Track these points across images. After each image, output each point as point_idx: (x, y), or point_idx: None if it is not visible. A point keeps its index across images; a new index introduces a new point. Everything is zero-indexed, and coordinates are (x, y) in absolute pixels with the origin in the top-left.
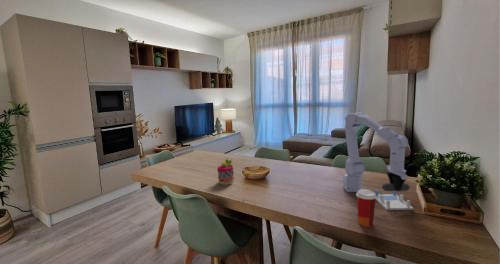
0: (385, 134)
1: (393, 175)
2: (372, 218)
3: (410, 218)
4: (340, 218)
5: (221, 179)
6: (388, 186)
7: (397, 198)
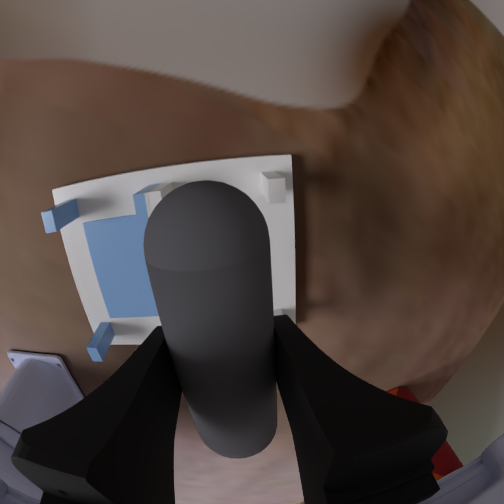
0: None
1: (151, 488)
2: None
3: (393, 229)
4: None
5: None
6: (274, 433)
7: (123, 205)
